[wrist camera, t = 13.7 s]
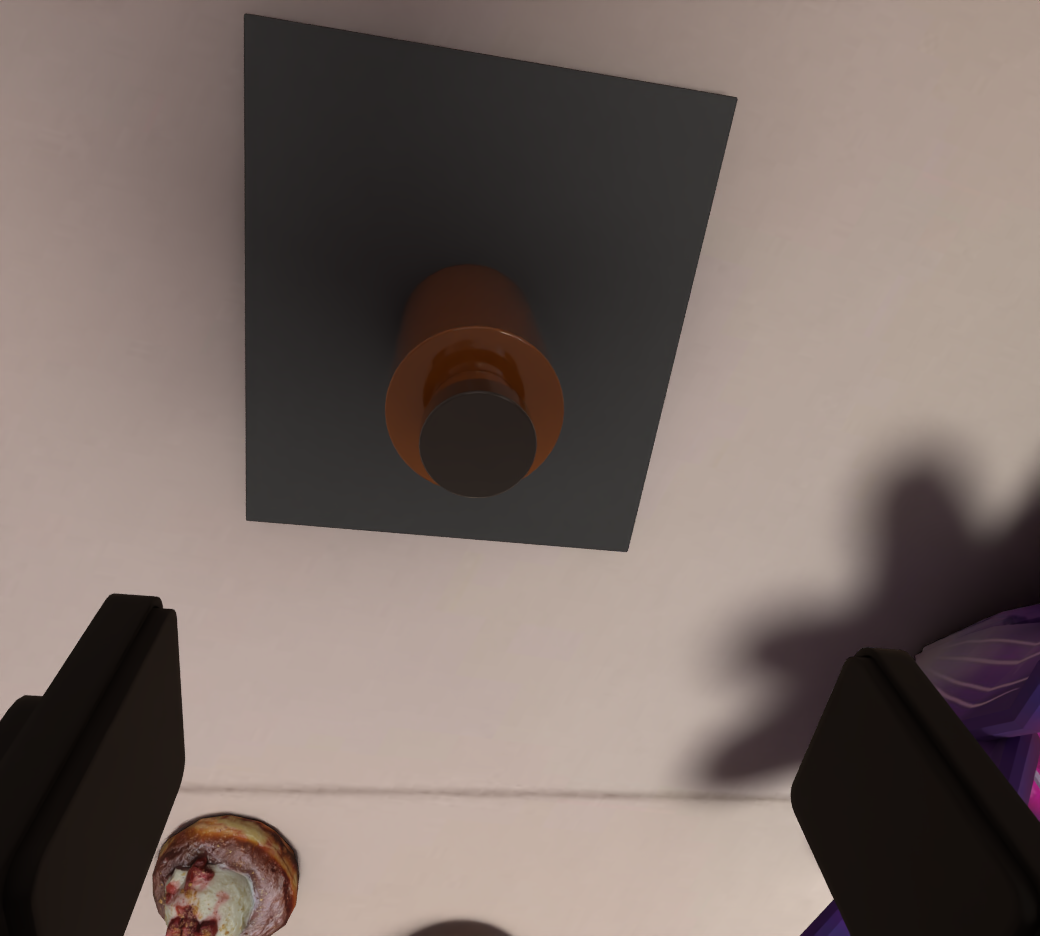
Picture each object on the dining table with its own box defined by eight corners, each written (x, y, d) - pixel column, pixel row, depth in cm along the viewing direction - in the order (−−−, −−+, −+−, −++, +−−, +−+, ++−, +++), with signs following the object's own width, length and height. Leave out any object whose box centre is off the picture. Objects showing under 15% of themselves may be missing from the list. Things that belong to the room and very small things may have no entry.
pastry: (188, 796, 39) (155, 887, 35) (328, 837, 41) (314, 929, 37) (136, 892, 42) (99, 989, 37) (270, 927, 44) (250, 1022, 40)
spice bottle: (406, 254, 27) (385, 340, 18) (545, 273, 28) (593, 364, 19) (394, 388, 30) (371, 523, 20) (524, 402, 30) (558, 539, 21)
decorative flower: (1251, 362, 39) (1524, 468, 32) (944, 764, 54) (1086, 896, 47) (888, 348, 23) (1277, 554, 16) (592, 927, 38) (727, 1166, 31)
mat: (250, 15, 25) (243, 12, 24) (729, 97, 27) (738, 97, 26) (251, 509, 32) (245, 521, 31) (623, 540, 35) (627, 552, 34)
